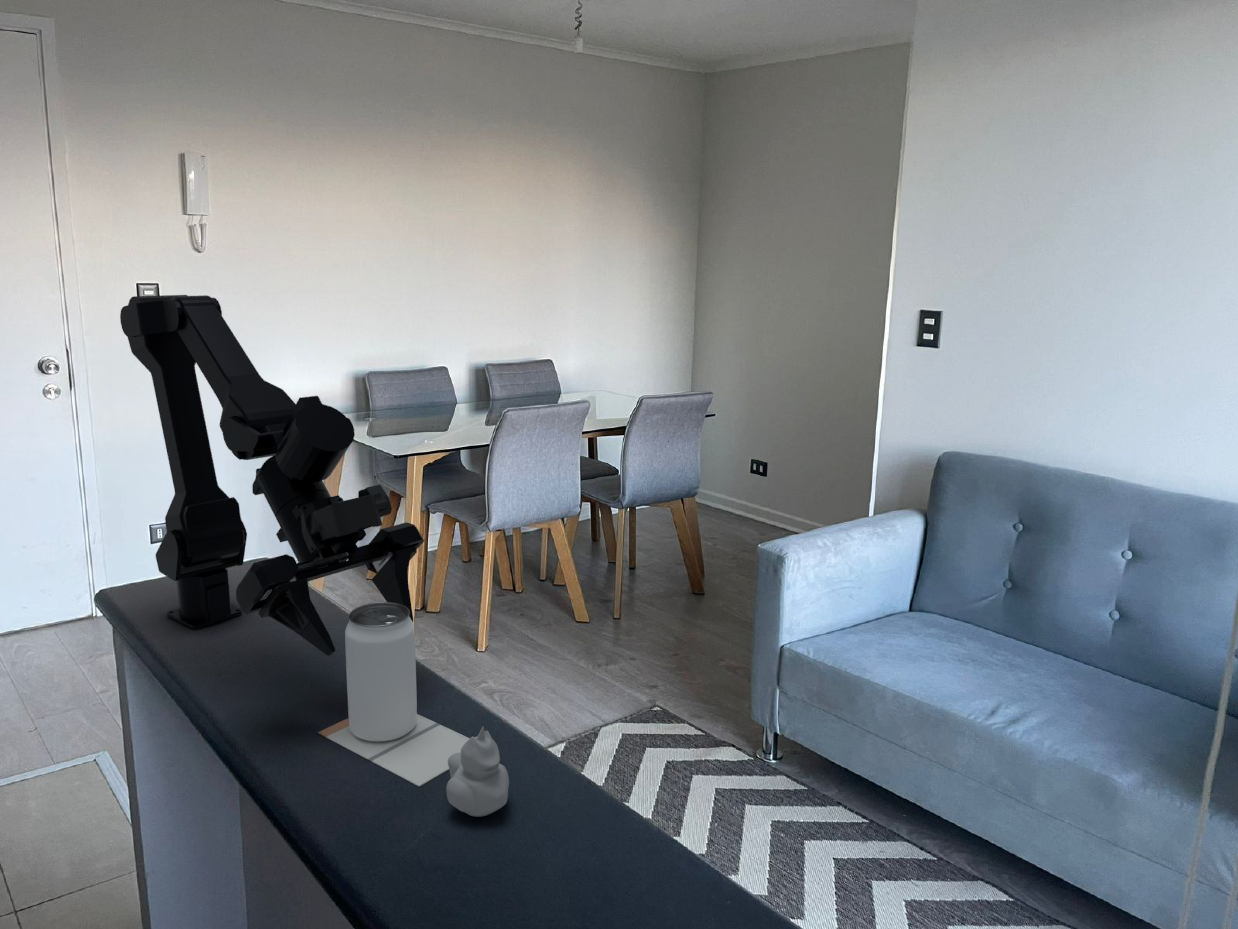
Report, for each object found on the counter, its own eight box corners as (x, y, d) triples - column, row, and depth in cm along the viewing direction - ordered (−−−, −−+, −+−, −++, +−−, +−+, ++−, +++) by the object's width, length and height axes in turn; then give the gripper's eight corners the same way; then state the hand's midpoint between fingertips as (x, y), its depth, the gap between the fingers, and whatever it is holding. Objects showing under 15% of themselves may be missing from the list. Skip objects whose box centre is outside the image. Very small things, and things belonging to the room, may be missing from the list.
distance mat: (318, 733, 92) (318, 732, 92) (387, 701, 99) (387, 699, 99) (419, 786, 84) (419, 785, 84) (486, 747, 91) (486, 746, 91)
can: (384, 752, 89) (380, 633, 86) (334, 732, 92) (329, 617, 89) (430, 722, 95) (428, 610, 92) (382, 704, 98) (378, 595, 95)
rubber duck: (475, 837, 78) (475, 748, 76) (426, 802, 82) (425, 718, 80) (525, 809, 82) (526, 725, 80) (476, 778, 86) (476, 697, 84)
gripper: (244, 479, 85) (321, 630, 81) (411, 447, 99) (483, 574, 95) (205, 542, 92) (274, 684, 88) (367, 504, 106) (432, 625, 102)
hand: (372, 638), depth 93 cm, fingers open, 9 cm apart
